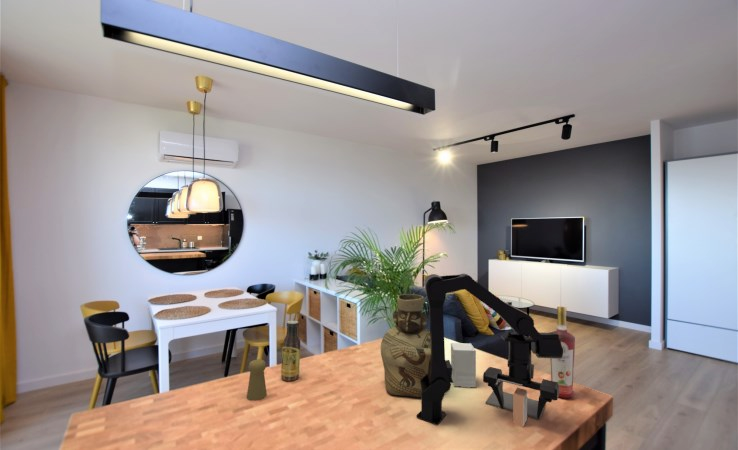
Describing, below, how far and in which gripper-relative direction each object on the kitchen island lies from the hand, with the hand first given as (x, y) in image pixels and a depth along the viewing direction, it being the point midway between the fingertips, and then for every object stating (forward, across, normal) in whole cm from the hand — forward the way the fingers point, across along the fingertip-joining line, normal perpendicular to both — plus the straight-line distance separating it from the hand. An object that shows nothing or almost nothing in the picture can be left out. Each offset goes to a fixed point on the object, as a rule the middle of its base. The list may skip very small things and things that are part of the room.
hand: (519, 413), depth 94 cm
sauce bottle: (+2, +72, +18) cm, 74 cm away
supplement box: (+2, +21, -14) cm, 25 cm away
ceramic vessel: (+2, +35, -1) cm, 35 cm away
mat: (+2, +3, -9) cm, 10 cm away
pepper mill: (+2, +71, +33) cm, 78 cm away
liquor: (+2, -8, -24) cm, 25 cm away
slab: (+2, 0, 0) cm, 2 cm away
